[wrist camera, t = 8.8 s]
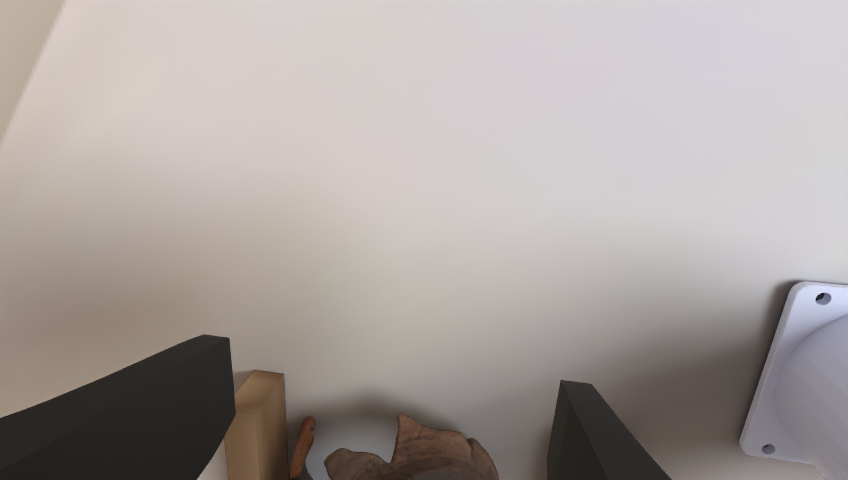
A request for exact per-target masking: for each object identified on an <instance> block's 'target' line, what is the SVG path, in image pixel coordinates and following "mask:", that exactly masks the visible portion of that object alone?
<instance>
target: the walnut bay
mask: <svg viewBox="0 0 848 480" xmlns="http://www.w3.org/2000/svg"><path fill="white" fill-rule="evenodd" d="M234 396H235V408H236V415H235V417H234V419H233V421H232V423H231V425H230V427H229V429H228V431H227V432H226V434H225V436H224V439H225V449H226V459H227V470H228V480H289V475H288V453H287V431H286V409H285V388H284V374H279V373H271V372H264V371H257V370H254V371H253V372H252V373H251V375H250V376H249V377H248V378H247V380H246V381H245V382H244V383H243V385H242V386H241V387H240V388H239V390H238V391H237V392H236V393H235V395H234Z"/></svg>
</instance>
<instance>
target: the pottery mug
mask: <svg viewBox="0 0 848 480" xmlns="http://www.w3.org/2000/svg"><path fill="white" fill-rule="evenodd" d="M397 420H398V423H399V425H398V433H397V437H396V442H395V448H394V452H393V457H392V460H391V463H386V462H385V461H384V460H382V459H381V458H380V457H379V456H378V455H375V454H373V453H366V452H352V451H350V450H347V449H344V448H341V449H338V450H336V451H335V452H333V453H332V454H330V455H329V456H328V457H327V458H326V459H325V461H324V465H325V467H326V470H327V473H328V476H329V478H330V479H331V480H499V478H498V473H497V471H496V467H495V465H494V463H493V461H492V459H491V457H490V456H489V454H488V453H487V452H486V450H485V449H484V448H483V447H482V446H481V445H480V443H479V442H478V441H477V440H475V439H473V438H469V439H467V440H466V438H465V436H464V435H463V434H462V433H460V432H456V431H451V430H447V431H444V430H439V429H432V428H429V427H426V426H424V425H421V424H419V423H417V422H416V421H415V420H414V419H412V418H410V417H408V416H405V415H403V414H398V416H397ZM314 425H315V420H314V418H313V417H311V416H309V417H308V418H306V420H305V421H304V423H303V425H302V427H301V430H300V432H299V436H298V440H297V444H296V447H295V452H294V455H293V458H292V461H291V464H290V473H289V480H313V479H312V477H311V476H310V474H309V473H308V471H307V468H306V464H305V459H306V456H307V454H308V452H309V450H310V448H311V446H312V444H313V441H314V436H313V433H312V432H313V429H314Z"/></svg>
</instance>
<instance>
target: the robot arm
mask: <svg viewBox="0 0 848 480" xmlns="http://www.w3.org/2000/svg"><path fill="white" fill-rule="evenodd" d="M821 293H825V295H824V297H823V298H822V299H820V300H817V301H816V297H817V296H818V295H819V294H821ZM235 415H236V408H235V396H234V385H233V374H232V363H231V352H230V340H229V338H227V337H219V336H211V335H201V336H198V337H195V338H192V339H190V340H187V341H185V342H182V343H180V344H178V345H175V346H173V347H171V348H168V349H166V350H164V351H162V352H159V353H157V354H155V355H153V356H151V357H148V358H146V359H144V360H142V361H139V362H137V363H135V364H133V365H131V366H128V367H126V368H124V369H122V370H119V371H117V372H115V373H113V374H110V375H108V376H106V377H104V378H101V379H99V380H96V381H94V382H92V383H89V384H87V385H84V386H82V387H80V388H77V389H75V390H72V391H70V392H68V393H65V394H63V395H60V396H58V397H55V398H53V399H51V400H48V401H46V402H43V403H40V404H38V405H35V406H33V407H30V408H27V409H25V410H22V411H19V412H16V413H14V414H11V415H8V416H5V417H2V418H0V480H197V478H198V477H199V476H200V474H201V473H202V471H203V470H204V469H205V467H206V466H207V464H208V463H209V461H210V460H211V459H212V457H213V456H214V454H215V452H216V450H217V449H218V447H219V445H220V443H221V442H222V440H223V438H224V436H225V434H226V432H227V431H228V429H229V427H230V425H231V423H232V421H233V419H234V417H235ZM739 444H740V446H741V448H742V450H743V451H744V452H745V453H746V454H747V455H750V456H755V457H762V458H769V459H776V460H784V461H791V462H798V463H805V464H812V465H814V467H815V468H816V469H817V470H818V472H819V473H820V474H821V475H822V477H823V478H824V479H825V480H848V285H838V284H828V283H819V282H809V281H806V282H800V283H798V284H796V285H794V286H793V287H792V288H791V290H790V292H789V295H788V298H787V301H786V304H785V306H784V309H783V312H782V315H781V318H780V321H779V324H778V327H777V330H776V333H775V336H774V339H773V342H772V345H771V348H770V351H769V354H768V357H767V360H766V363H765V366H764V369H763V372H762V375H761V378H760V381H759V384H758V386H757V389H756V392H755V395H754V398H753V401H752V404H751V407H750V410H749V413H748V416H747V419H746V422H745V425H744V428H743V431H742V434H741V437H740V440H739ZM766 444H770V445H769V446H767V447H763V446H764V445H766ZM762 447H763V448H762ZM547 471H548V480H671V478H670V477H669V476H668V475H667V474H666V473H665V472H664V471H663V470H662V469H661V468H660V466H659V465H658V464H657V463H656V462H655V461H654V460H653V459H652V458H651V456H650V455H649V454H648V453H647V452H646V451H645V449H644V448H643V447H642V446H641V445H640V444H639V442H638V441H637V440H636V439H635V438H634V436H633V435H632V434H631V433H630V432H629V430H628V429H627V428H626V427H625V425H624V424H623V423H622V422H621V420H620V419H619V418H618V417H617V415H616V414H615V413H614V412H613V410H612V409H611V408H610V407H609V405H608V404H607V403H606V402H605V400H604V399H603V398H602V397H601V395H600V394H599V393H598V392H597V390H596V389H595V388H594V387H593V385H592V384H587V383H579V382H572V381H564V380H561V381H560V387H559V393H558V399H557V404H556V410H555V416H554V422H553V427H552V433H551V439H550V445H549V450H548V456H547Z"/></svg>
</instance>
